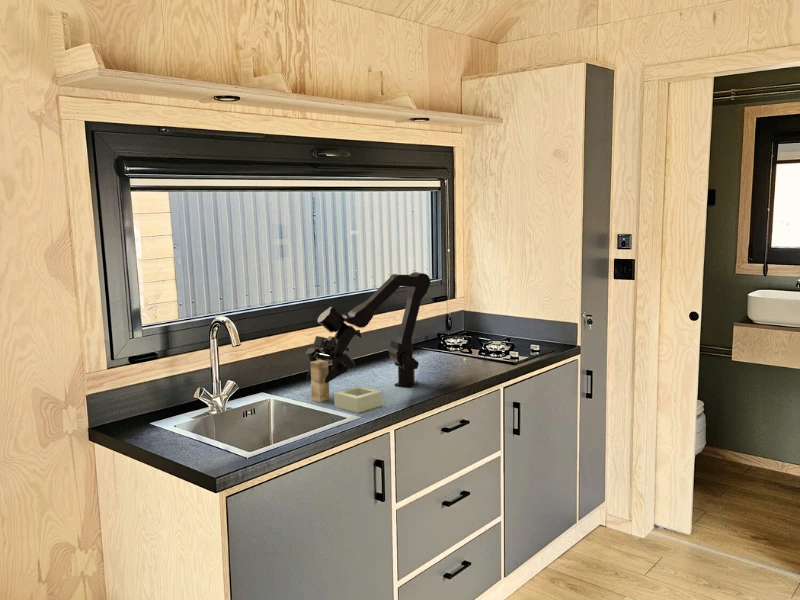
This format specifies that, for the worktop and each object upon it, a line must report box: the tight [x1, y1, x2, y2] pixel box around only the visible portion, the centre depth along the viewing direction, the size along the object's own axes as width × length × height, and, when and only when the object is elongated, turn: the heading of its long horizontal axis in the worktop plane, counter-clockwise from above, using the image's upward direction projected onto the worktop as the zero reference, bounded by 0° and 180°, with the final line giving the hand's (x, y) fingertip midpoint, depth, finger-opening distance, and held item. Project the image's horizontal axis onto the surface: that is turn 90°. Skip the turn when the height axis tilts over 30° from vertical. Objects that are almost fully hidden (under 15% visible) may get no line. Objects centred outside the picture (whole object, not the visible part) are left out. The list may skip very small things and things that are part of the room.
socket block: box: [333, 385, 383, 414], centre depth 222 cm, size 10×10×4 cm
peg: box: [309, 360, 330, 403], centre depth 230 cm, size 4×4×12 cm
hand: (316, 380), depth 229 cm, fingers open, 8 cm apart
